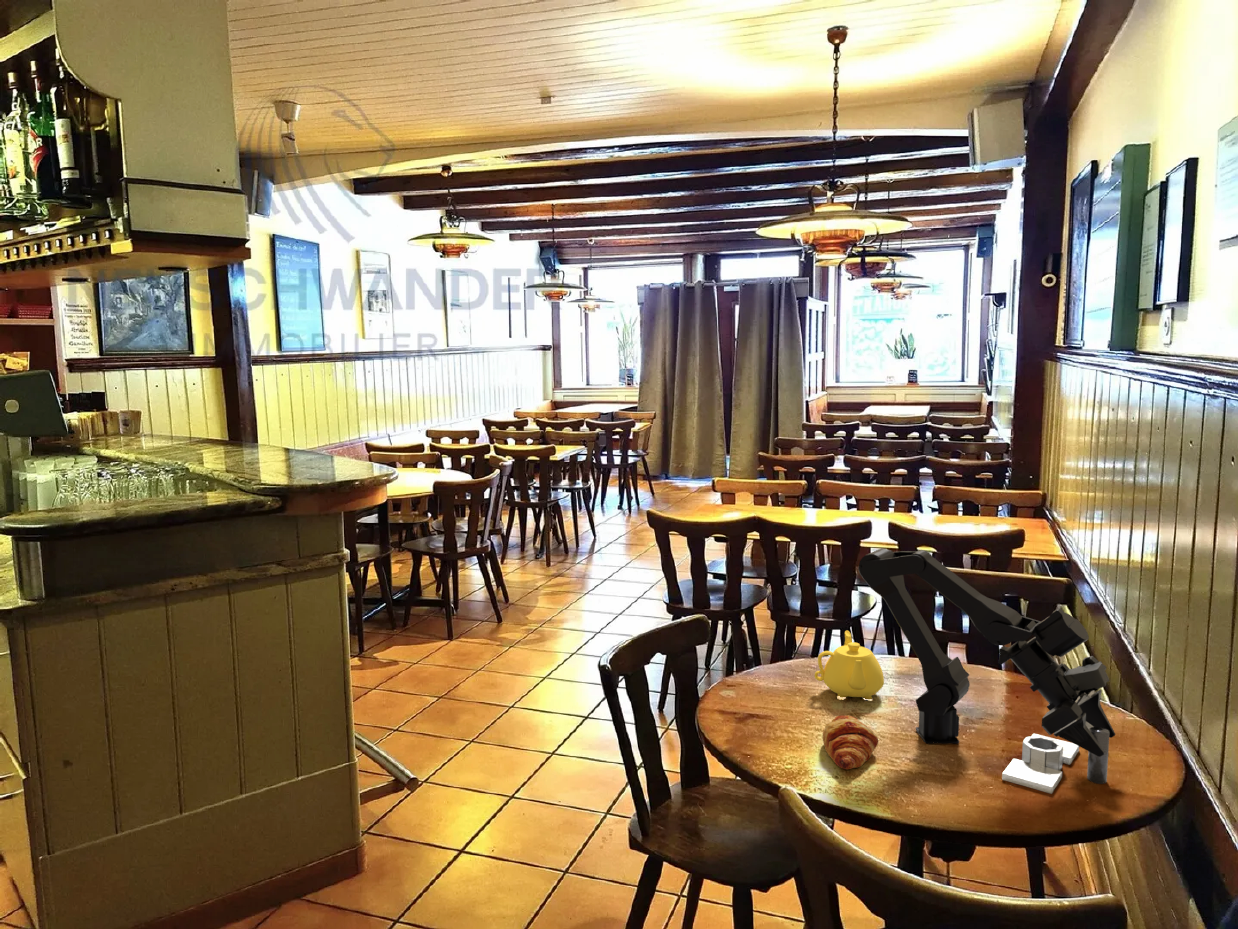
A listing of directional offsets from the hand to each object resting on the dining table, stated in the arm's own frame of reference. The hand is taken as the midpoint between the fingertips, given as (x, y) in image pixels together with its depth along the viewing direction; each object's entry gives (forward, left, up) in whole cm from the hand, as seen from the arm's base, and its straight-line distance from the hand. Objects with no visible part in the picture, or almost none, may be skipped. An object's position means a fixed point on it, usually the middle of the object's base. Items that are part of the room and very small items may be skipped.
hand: (1107, 745), depth 149 cm
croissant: (-41, +12, -7) cm, 44 cm away
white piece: (-8, +6, -7) cm, 12 cm away
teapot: (-35, +40, -7) cm, 54 cm away
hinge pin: (-1, +1, -7) cm, 7 cm away
